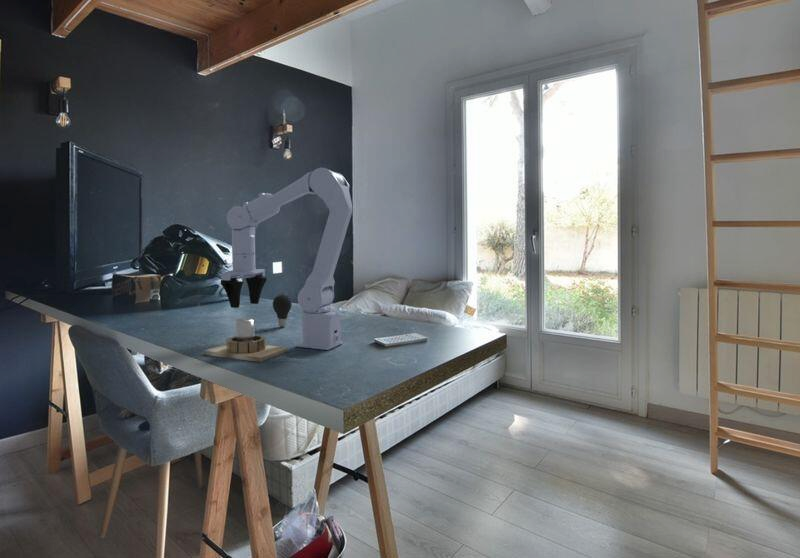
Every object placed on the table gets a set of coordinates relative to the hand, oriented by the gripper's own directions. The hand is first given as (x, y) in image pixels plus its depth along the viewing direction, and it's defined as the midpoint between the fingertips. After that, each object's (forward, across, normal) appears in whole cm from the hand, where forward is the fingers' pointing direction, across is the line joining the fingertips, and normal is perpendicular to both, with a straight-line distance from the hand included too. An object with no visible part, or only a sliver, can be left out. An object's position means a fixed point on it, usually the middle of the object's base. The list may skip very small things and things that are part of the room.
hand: (245, 305), depth 122 cm
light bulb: (+10, -19, -2) cm, 21 cm away
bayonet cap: (+8, +10, +9) cm, 16 cm away
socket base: (+9, +10, +9) cm, 17 cm away
